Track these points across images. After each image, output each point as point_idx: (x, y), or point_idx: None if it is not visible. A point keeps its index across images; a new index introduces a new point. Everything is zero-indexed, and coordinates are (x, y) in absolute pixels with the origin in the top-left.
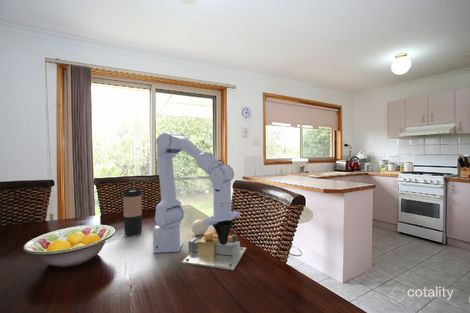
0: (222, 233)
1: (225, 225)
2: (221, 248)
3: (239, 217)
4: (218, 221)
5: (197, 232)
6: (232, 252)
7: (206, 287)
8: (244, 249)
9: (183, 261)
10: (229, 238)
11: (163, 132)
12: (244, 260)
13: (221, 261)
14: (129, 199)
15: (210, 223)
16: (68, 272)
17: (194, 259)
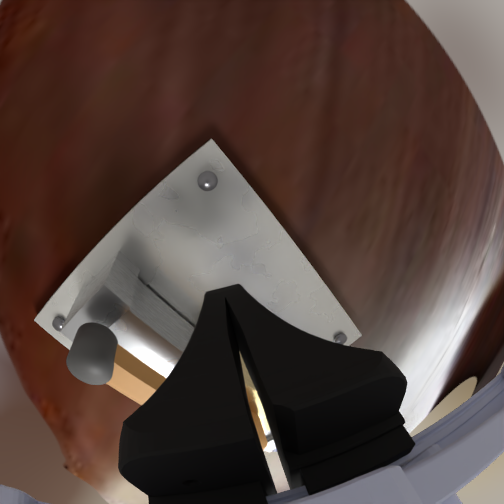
0: (305, 336)
1: (350, 390)
2: (186, 341)
3: (3, 486)
4: (487, 420)
5: None
6: (136, 281)
7: (388, 103)
8: (46, 307)
9: (356, 333)
10: (132, 366)
11: None
12: (92, 208)
13: (224, 252)
14: None
15: (492, 404)
16: (479, 365)
17: (317, 332)
